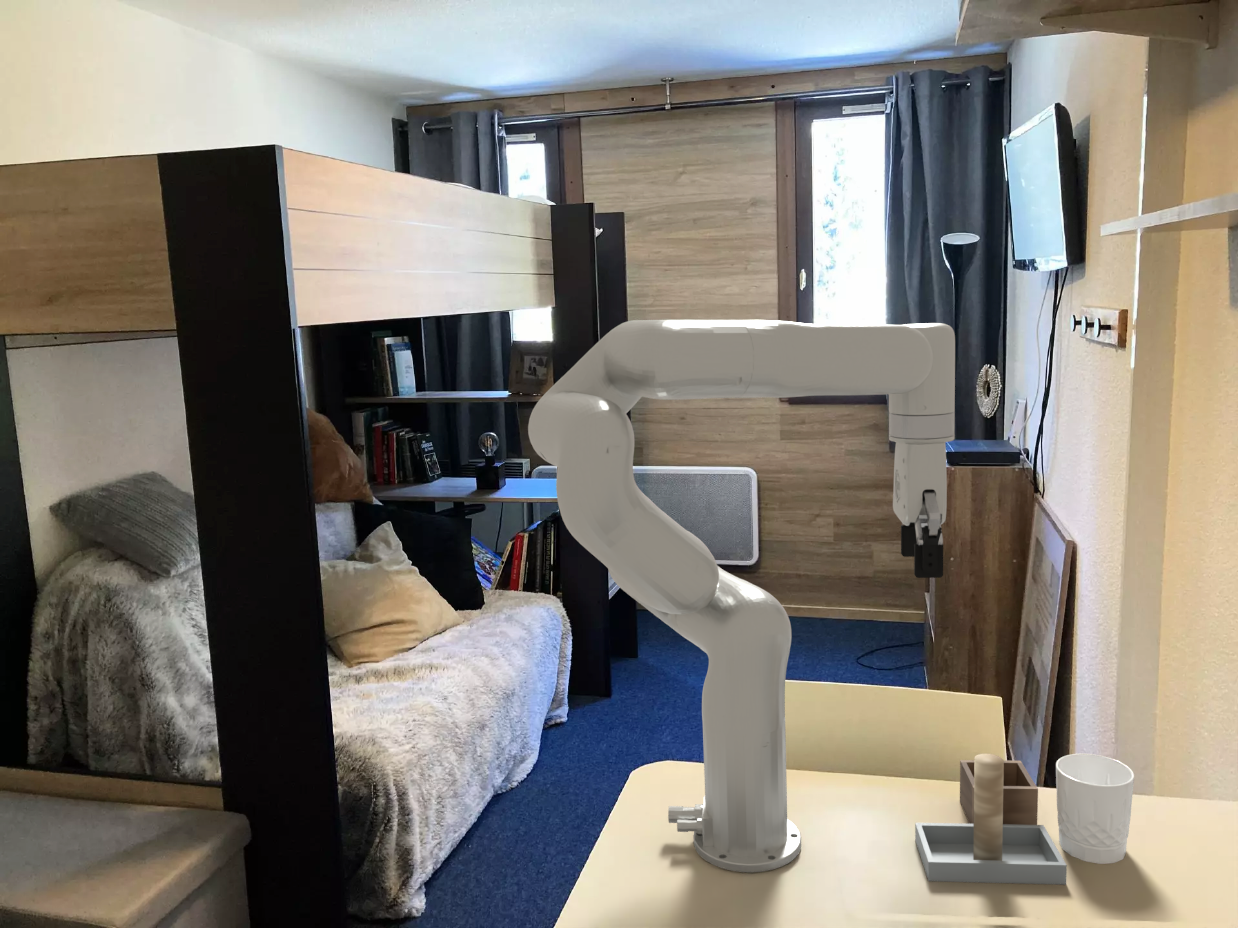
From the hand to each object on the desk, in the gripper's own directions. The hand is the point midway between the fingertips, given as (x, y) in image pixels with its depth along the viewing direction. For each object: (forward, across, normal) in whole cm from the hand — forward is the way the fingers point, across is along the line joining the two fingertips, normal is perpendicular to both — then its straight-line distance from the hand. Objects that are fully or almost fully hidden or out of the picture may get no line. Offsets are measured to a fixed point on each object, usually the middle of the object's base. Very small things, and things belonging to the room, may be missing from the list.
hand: (921, 566), depth 121 cm
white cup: (+31, +12, +17) cm, 37 cm away
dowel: (+30, +16, +4) cm, 34 cm away
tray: (+30, +16, +4) cm, 34 cm away
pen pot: (+30, +6, +8) cm, 32 cm away
